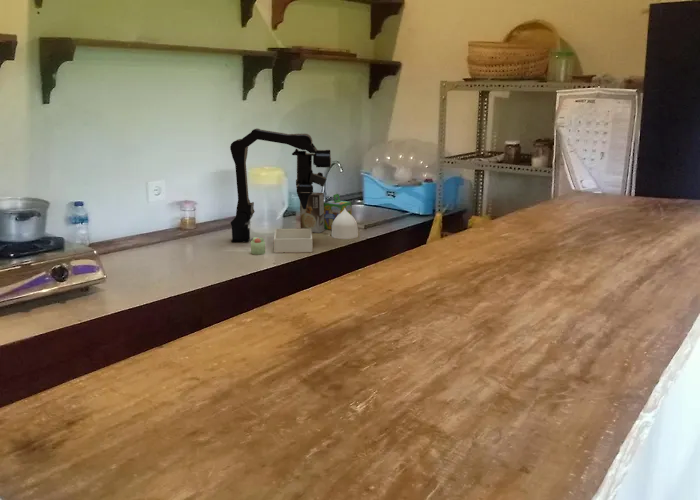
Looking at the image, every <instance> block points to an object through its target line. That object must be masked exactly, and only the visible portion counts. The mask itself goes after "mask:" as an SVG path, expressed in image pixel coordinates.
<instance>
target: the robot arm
mask: <svg viewBox="0 0 700 500" xmlns="http://www.w3.org/2000/svg"><path fill="white" fill-rule="evenodd" d="M258 140H260V141H265V142H273V143H276V144H284V145H289V146H291V147H293V148H295V150H294V151H293V152H292V153H291V156H296V179H295V185H296V186H295V188H296V194H297V197H298V199H299V203H300V202H301V205H302V207H303V209H306V206H307V202H308V197H309V196H310V195H311V194H312V193H313V192H314V185H313V184H316V185H319V186H321V187H324V186H325V184H326V181H327V178H326V177H325V176H324V174H323V173H322V172H320V171H319V172H318V173H314V171H313V167H312V166H315V167H316V168H325V169H326V168H327V169H328V168H331V166H332V158H331V155H332V154H331V149H317V147H316V146H315V144H314V143H313V138H312V136H311V135H310V134H308V133H284V132H277V131H272V130H265V129H260V128H254V129H252V130H251V131H250V132H249V133H248V134H246V135H245V136H243V138H239V139H236V140H234V141H232V143H231V144H230V147H229V148H230V153H231V157H232V160H233V163H234V165H235V167H234V168H235V177H236V189H237V205H236V211H235V212H236V213H235V217H234V218H233V219H232V220H231V221H230V225H231V243H249V241H250V239H251V229H250V227H249V224H248V222H250V220H251V219H252V218H253V216H254V213H255V212H256V211H255V209H254V208H255V207H254V206H255V205H254V204H255V203H254V201H252V202H251V201H250V198H249V187H248V172H247V158H248V150H249V146H251V145H252V144H253V143H255V142H256V141H258ZM307 152H308V153H307ZM312 164H313V165H312Z"/></svg>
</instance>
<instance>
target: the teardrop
mask: <svg viewBox="0 0 700 500" xmlns="http://www.w3.org/2000/svg"><path fill="white" fill-rule="evenodd" d="M331 237H332V238H333V239H340V240H350V239H351V240H352V239H356V238H358V237H359V231H358V223H357V221H356V219H355V217H354V216H353V215H352V214H351V215H350V214H349V213H348V212H347V211H346V209H345V208H344V210H343V211H342V212H341V213H340V214H339V215H338V216H337V217H336V218H335V219H334V221H333V223H332V230H331Z"/></svg>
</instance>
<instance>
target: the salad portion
mask: <svg viewBox="0 0 700 500" xmlns="http://www.w3.org/2000/svg"><path fill="white" fill-rule="evenodd" d="M250 254H251V255H257V256H258V255H259V256H260V255H264V254H266V240H264V238H263V237H255V236H254V237H253V238H252V240H251V241H250Z"/></svg>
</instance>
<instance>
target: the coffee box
mask: <svg viewBox="0 0 700 500" xmlns="http://www.w3.org/2000/svg"><path fill="white" fill-rule="evenodd" d="M324 203H325V193H324V192H316V191H315V192H314V191H313V193H312V194H311V195H310V196H309V197H308V202H307V206H306V209H303V207H302V205H301V202H300V201H299V215H300V216H299V220H300V221H299V222H300V225H299V227H300V229H311V231H312V233H317V234H319V233H320V234H321V233H322V232H324V231H325V230H326V229H324Z"/></svg>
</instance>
